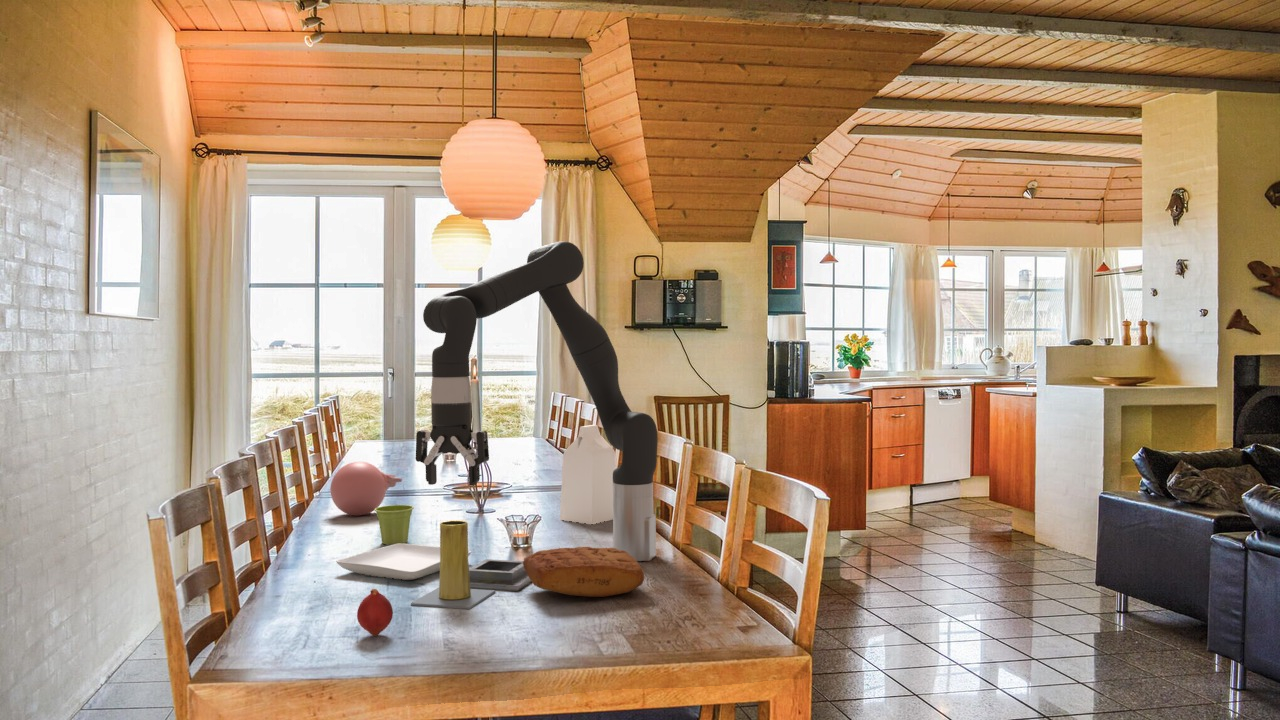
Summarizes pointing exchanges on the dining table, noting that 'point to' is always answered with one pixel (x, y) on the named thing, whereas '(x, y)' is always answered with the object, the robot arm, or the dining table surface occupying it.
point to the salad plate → (396, 561)
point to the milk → (588, 478)
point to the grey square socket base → (499, 575)
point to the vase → (454, 560)
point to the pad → (467, 603)
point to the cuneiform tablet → (584, 571)
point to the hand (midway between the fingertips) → (452, 484)
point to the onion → (375, 613)
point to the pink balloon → (360, 488)
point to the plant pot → (394, 523)
